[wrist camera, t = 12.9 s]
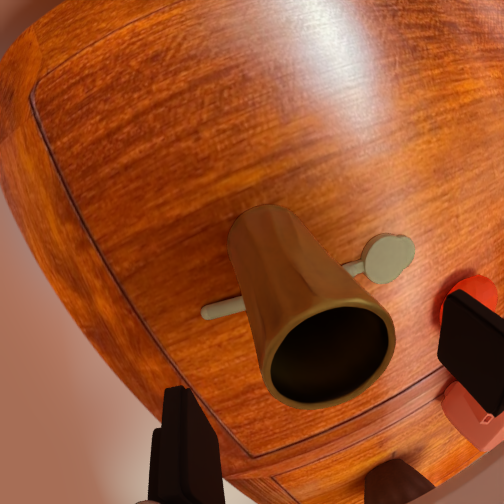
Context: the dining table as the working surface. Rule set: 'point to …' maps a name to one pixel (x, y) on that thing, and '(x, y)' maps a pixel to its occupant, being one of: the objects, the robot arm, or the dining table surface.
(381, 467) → the flower pot
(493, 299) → the pumpkin
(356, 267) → the spoon
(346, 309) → the vase
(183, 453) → the robot arm
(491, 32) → the dining table surface
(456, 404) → the teapot
